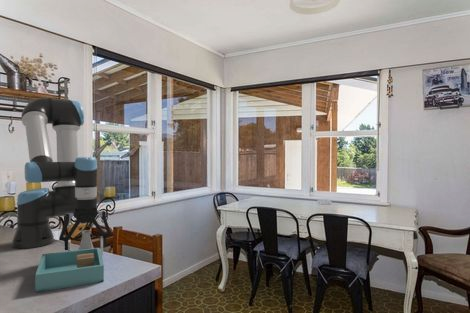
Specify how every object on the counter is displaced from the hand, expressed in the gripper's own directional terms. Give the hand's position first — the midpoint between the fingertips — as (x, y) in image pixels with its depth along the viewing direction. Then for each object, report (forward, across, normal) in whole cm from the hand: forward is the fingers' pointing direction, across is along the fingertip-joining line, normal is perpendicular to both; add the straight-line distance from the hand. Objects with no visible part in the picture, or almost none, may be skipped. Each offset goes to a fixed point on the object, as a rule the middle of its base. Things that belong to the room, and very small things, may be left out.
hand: (85, 256), depth 119 cm
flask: (+1, 0, 0) cm, 1 cm away
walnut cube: (0, 0, -17) cm, 17 cm away
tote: (0, -4, -16) cm, 17 cm away
